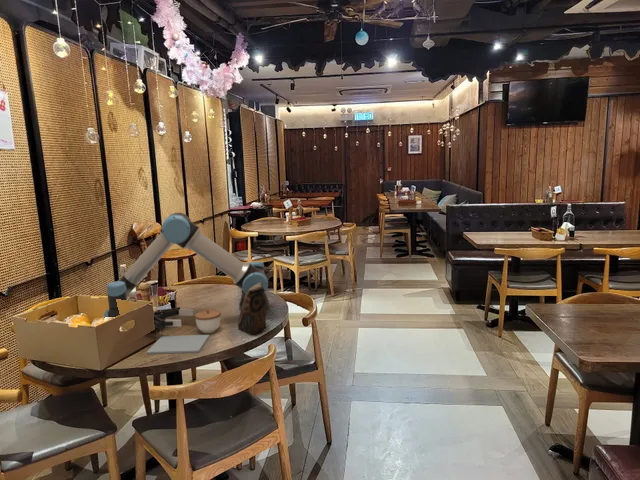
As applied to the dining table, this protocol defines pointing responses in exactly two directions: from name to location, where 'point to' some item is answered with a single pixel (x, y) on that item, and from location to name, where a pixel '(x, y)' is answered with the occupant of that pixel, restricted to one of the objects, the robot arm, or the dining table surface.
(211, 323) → the lidded jar
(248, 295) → the owl
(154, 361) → the dining table surface
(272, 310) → the dining table surface
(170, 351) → the mat
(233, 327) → the dining table surface
